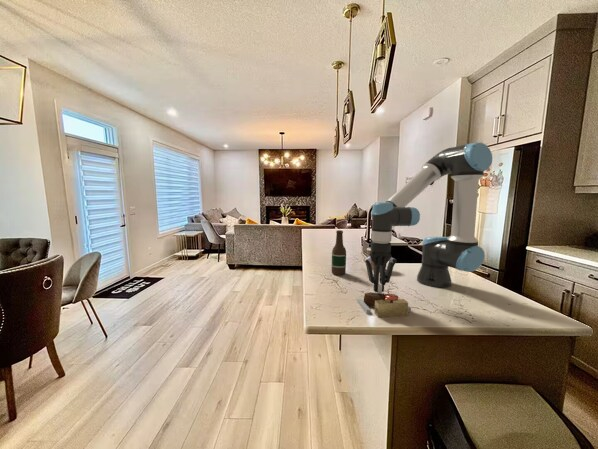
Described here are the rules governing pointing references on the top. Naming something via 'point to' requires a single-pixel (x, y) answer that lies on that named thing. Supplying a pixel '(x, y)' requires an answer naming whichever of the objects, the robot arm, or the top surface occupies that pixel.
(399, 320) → the top surface
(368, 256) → the coffee cup
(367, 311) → the rails
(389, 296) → the red dome button
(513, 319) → the top surface
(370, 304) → the brick
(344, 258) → the beer bottle
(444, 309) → the top surface
